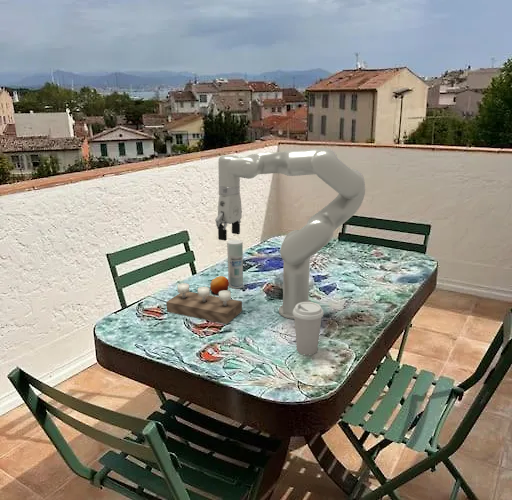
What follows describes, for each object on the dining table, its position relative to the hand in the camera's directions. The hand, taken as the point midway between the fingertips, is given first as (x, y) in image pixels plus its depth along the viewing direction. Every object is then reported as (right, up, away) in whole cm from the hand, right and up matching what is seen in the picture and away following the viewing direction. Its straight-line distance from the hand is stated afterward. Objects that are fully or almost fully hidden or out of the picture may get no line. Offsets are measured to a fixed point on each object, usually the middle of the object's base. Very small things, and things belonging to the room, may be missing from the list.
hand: (229, 236), depth 168 cm
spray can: (+1, -21, +30) cm, 37 cm away
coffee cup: (+26, -37, -23) cm, 51 cm away
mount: (-10, -28, +5) cm, 30 cm away
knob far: (-18, -23, +8) cm, 30 cm away
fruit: (-5, -23, +24) cm, 33 cm away
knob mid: (-10, -24, +4) cm, 27 cm away
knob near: (-2, -25, +1) cm, 26 cm away
